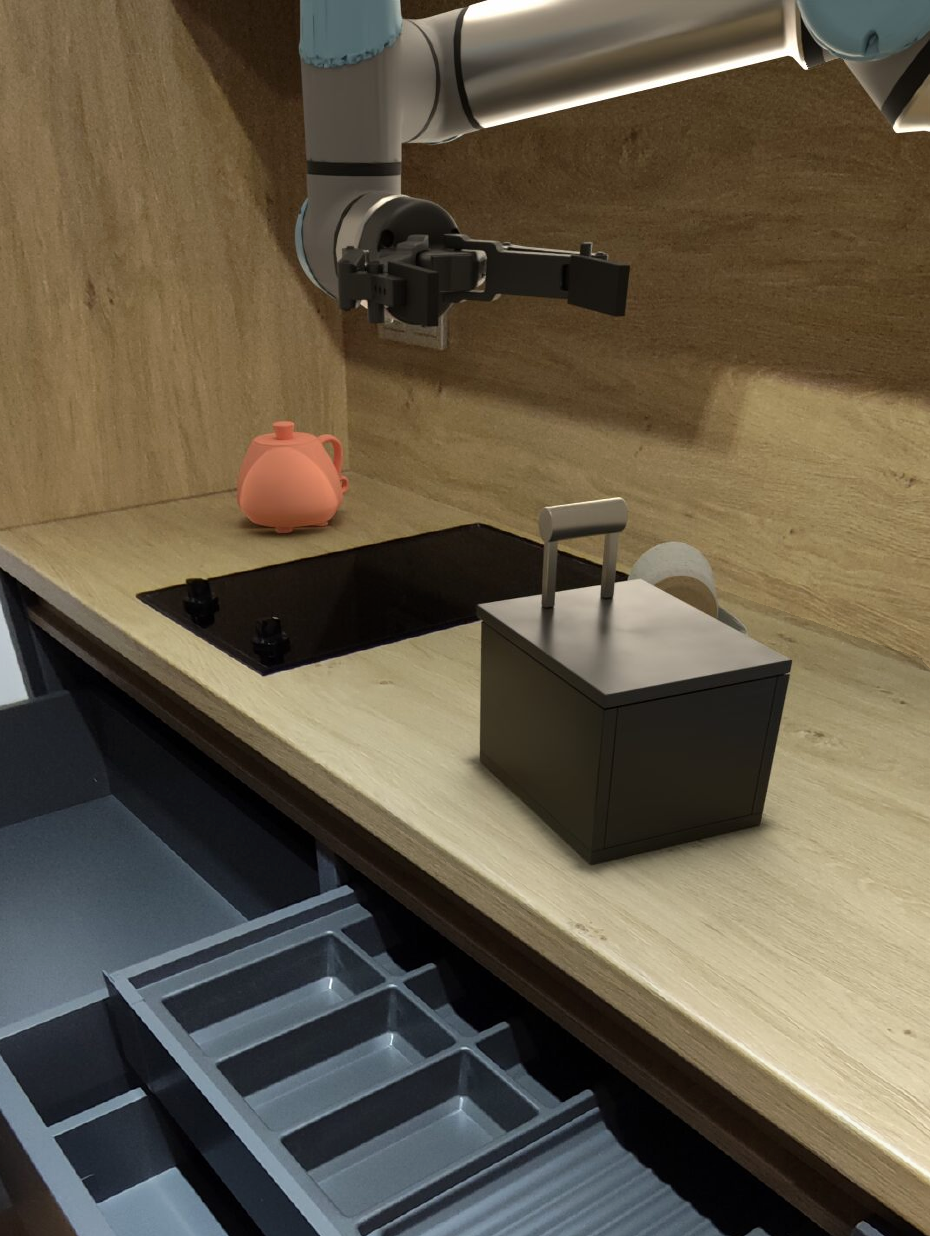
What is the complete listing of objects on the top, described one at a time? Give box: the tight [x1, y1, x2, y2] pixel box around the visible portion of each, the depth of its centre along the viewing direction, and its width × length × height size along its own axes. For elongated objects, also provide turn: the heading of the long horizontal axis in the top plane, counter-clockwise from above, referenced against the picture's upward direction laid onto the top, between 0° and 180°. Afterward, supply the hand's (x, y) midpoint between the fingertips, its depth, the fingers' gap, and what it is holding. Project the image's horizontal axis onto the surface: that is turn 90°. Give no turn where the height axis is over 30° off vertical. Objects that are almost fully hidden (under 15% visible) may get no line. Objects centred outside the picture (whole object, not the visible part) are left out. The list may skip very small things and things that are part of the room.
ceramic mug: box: [626, 541, 750, 637], centre depth 95 cm, size 11×8×8 cm
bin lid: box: [476, 496, 793, 708], centre depth 69 cm, size 18×13×7 cm
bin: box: [479, 620, 791, 866], centre depth 74 cm, size 17×13×10 cm
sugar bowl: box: [236, 420, 350, 534], centre depth 128 cm, size 12×14×10 cm
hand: (531, 295), depth 70 cm, fingers open, 13 cm apart
